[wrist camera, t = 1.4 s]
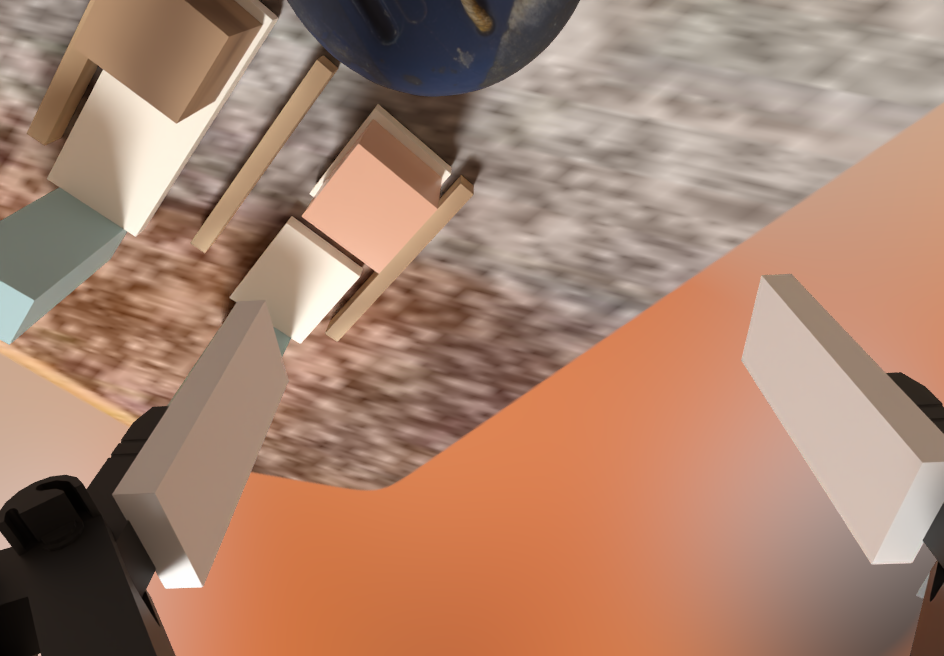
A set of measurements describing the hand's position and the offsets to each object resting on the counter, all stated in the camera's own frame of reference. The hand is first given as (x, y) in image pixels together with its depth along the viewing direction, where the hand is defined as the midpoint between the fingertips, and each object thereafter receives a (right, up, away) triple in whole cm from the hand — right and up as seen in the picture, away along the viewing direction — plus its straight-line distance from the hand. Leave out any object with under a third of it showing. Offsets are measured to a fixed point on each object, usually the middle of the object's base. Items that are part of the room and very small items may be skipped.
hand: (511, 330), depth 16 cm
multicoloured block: (-20, +12, +18) cm, 29 cm away
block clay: (-6, +9, +19) cm, 21 cm away
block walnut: (-15, +15, +14) cm, 26 cm away
